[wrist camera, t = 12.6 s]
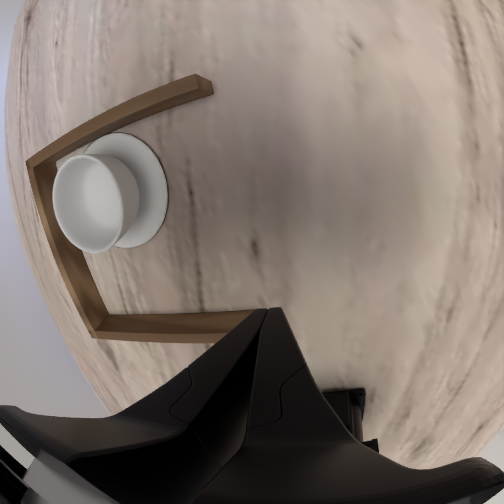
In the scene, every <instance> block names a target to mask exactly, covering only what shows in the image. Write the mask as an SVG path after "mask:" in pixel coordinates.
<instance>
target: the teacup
mask: <svg viewBox="0 0 504 504" xmlns="http://www.w3.org/2000/svg"><path fill="white" fill-rule="evenodd" d="M167 201H168V192H167V184H166V179H165V175H164V172H163V169H162V167H161V165H160V163H159V161H158V159H157V157H156V156H155V154H154V153H153V152H152V150H151V149H150V148H149V147H148V146H147V145H146V144H145V143H144V142H142V141H141V140H140V139H138V138H136V137H134V136H132V135H129V134H125V133H110V134H106V135H103V136H101V137H100V138H98V139H96V140H95V141H94V142H93V143H91V144H90V145H89V147H88V148H87V149H86V151H85V152H84V154H80V155H76V156H73V157H71V158H69V159H68V160H67V161H65V162H64V163H63V165H62V166H61V167H60V169H59V171H58V172H57V175H56V177H55V181H54V185H53V207H54V212H55V216H56V219H57V221H58V224H59V226H60V228H61V230H62V231H63V233H64V234H65V236H66V237H67V238H68V239H69V241H70V242H71V243H72V244H74V245H75V246H76V247H78V248H79V249H81V250H83V251H85V252H88V253H102V252H105V251H107V250H109V249H110V248H111V247H113V246H115V247H119V248H135V247H138V246H141V245H143V244H145V243H147V242H148V241H149V240H150V239H152V238H153V237H154V236H155V234H156V233H157V232H158V230H159V229H160V227H161V225H162V223H163V220H164V218H165V214H166V210H167Z"/></svg>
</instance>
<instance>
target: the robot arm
mask: <svg viewBox="0 0 504 504" xmlns="http://www.w3.org/2000/svg"><path fill="white" fill-rule="evenodd" d="M365 396H366V392H365V390H364V389H356V390H348V391H338V392H327V393H321V391H320V390H319V388H318V386H317V385H316V383H315V381H314V379H313V377H312V375H311V372H310V370H309V368H308V366H307V364H306V361H305V359H304V357H303V355H302V352H301V350H300V348H299V346H298V343H297V341H296V339H295V336H294V334H293V332H292V330H291V327H290V325H289V323H288V321H287V318H286V316H285V314H284V312H283V309H282V308H281V307H275V308H269V309H267V308H264V309H256V310H254V311H253V312H252V313H251V314H250V315H248V316H247V317H246V318H245V319H244V320H243V321H241V322H240V323H239V324H238V325H237V326H236V327H234V328H233V329H232V330H231V331H230V332H229V333H227V334H226V335H225V336H224V337H223V338H221V339H220V340H219V341H218V342H217V343H215V344H214V345H213V346H212V347H211V348H209V349H208V350H207V351H206V352H205V353H203V354H202V355H201V356H200V357H199V358H197V359H196V360H195V361H194V362H192V363H191V364H190V365H189V366H188V368H185V369H184V370H182V371H181V372H180V373H179V374H177V375H176V376H175V377H173V378H172V379H171V380H169V381H168V382H167V383H165V384H164V385H162V386H161V387H159V388H158V389H156V390H155V391H153V392H152V393H150V394H149V395H147V396H146V397H144V398H142V399H141V400H139V401H138V402H136V403H134V404H133V405H131V406H130V407H128V408H126V409H125V410H123V411H121V412H119V413H118V414H115V415H113V416H110V417H106V418H70V417H55V416H45V415H37V414H32V413H28V412H25V411H23V410H21V409H20V408H18V407H16V406H9V405H0V423H1V424H2V426H3V427H4V428H5V429H6V430H7V431H8V432H9V433H10V434H11V435H12V436H13V437H14V438H15V439H16V440H17V441H18V442H19V443H20V444H21V445H22V446H23V447H24V448H25V449H26V450H27V451H28V452H30V453H31V454H32V455H33V456H34V457H35V459H34V460H33V462H32V463H31V465H30V467H29V468H28V469H26V468H25V467H24V466H23V465H21V464H20V463H19V462H18V461H16V459H14V458H13V457H12V456H11V455H10V454H9V453H8V452H7V451H6V450H5V449H4V448H3V447H2V446H1V445H0V504H483V503H485V502H486V501H488V500H489V499H490V498H491V497H493V496H495V495H496V494H497V493H498V492H500V491H501V490H502V489H503V488H504V472H503V471H501V470H500V468H498V467H497V466H495V465H494V464H492V463H490V462H489V461H487V460H485V459H483V458H481V457H472V458H467V459H464V460H460V461H457V462H454V463H451V464H448V465H445V466H442V467H438V468H433V469H422V470H418V469H411V468H408V467H405V466H402V465H400V464H398V463H396V462H394V461H392V460H390V459H389V458H387V457H385V456H383V455H381V454H379V448H378V441H377V439H372V440H371V441H365V442H363V432H362V420H363V413H364V405H365Z"/></svg>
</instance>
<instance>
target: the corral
mask: <svg viewBox="0 0 504 504" xmlns="http://www.w3.org/2000/svg"><path fill="white" fill-rule="evenodd" d="M213 94H214V92H213V88H212V83H211V81H209V80H207V79H205V78H203V77H201V76H199V75H197V74H193V75H190V76H187V77H185V78H182V79H179V80H176V81H174V82H171V83H168V84H166V85H163V86H161V87H158V88H156V89H153V90H151V91H148V92H146V93H144V94H141V95H139V96H137V97H135V98H132V99H130V100H128V101H126V102H124V103H122V104H120V105H118V106H116V107H114V108H112V109H110V110H108V111H106V112H104V113H102V114H100V115H98V116H96V117H94V118H92V119H91V120H89V121H87V122H85V123H83V124H82V125H80V126H78V127H77V128H75V129H73V130H71V131H70V132H68V133H67V134H65V135H63V136H62V137H60V138H59V139H57V140H55V141H54V142H52V143H51V144H49V145H48V146H46V147H45V148H43V149H42V150H41V151H39V152H38V153H36V154H35V155H33V156H32V157H31V158H29V159H28V160H27V161H26V165H27V170H28V175H29V179H30V183H31V187H32V191H33V195H34V198H35V202H36V205H37V209H38V212H39V215H40V219H41V222H42V225H43V228H44V231H45V234H46V237H47V240H48V242H49V245H50V248H51V251H52V253H53V256H54V258H55V261H56V263H57V266H58V268H59V271H60V273H61V276H62V278H63V280H64V282H65V285H66V287H67V289H68V291H69V294H70V296H71V298H72V300H73V302H74V304H75V306H76V308H77V310H78V312H79V314H80V316H81V318H82V320H83V322H84V324H85V326H86V328H87V329H88V331H89V333H90V335H91V337H92V338H97V339H109V340H122V341H139V342H161V343H217V342H218V341H219V340H220V339H221V338H223V337H224V336H225V335H226V334H227V333H229V332H230V331H231V330H232V329H233V328H234V327H236V326H237V325H238V324H239V323H240V322H241V321H243V320H244V319H245V318H246V317H247V316H248V315H250V314H251V313H252V312H253V311H254V310H244V311H229V312H211V313H188V314H153V315H109V314H108V312H107V309H106V307H105V305H104V303H103V301H102V299H101V297H100V294H99V292H98V290H97V288H96V285H95V283H94V281H93V278H92V276H91V273H90V271H89V269H88V266H87V264H86V261H85V258H84V256H83V253H82V251H81V249H79V248H78V247H76V246H75V245H74V244H72V243H71V242H70V241H69V239H68V238H67V237H66V236H65V234H64V233H63V231H62V230H61V228H60V226H59V224H58V221H57V219H56V216H55V212H54V207H53V185H54V181H55V177H56V175H57V169H56V164H55V161H57V160H59V159H60V158H62V157H64V156H66V155H67V154H69V153H71V152H73V151H75V150H76V149H78V148H80V147H82V146H84V145H86V144H88V143H90V142H92V141H94V140H96V139H98V138H100V137H101V136H103V135H106V134H108V133H111V132H113V131H115V130H117V129H119V128H122V127H124V126H126V125H128V124H131V123H133V122H136V121H138V120H140V119H143V118H145V117H148V116H150V115H153V114H156V113H158V112H161V111H164V110H166V109H169V108H172V107H175V106H178V105H181V104H184V103H187V102H190V101H193V100H196V99H199V98H202V97H206V96H209V95H213Z"/></svg>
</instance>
